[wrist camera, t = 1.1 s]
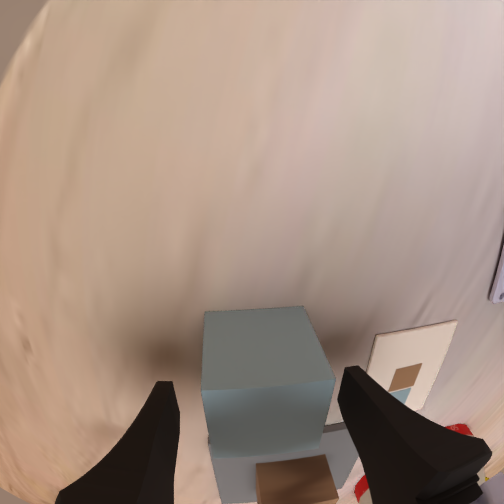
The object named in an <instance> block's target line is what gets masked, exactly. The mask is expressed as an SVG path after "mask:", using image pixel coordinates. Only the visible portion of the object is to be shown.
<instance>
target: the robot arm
mask: <svg viewBox="0 0 504 504" xmlns="http://www.w3.org/2000/svg"><path fill="white" fill-rule="evenodd" d="M490 301H491V302H492V303H493V304H496V303H500V302H504V245H503V249H502V254H501V258H500V262H499V266H498V269H497V273H496V277H495V280H494V284H493V287H492V290H491V294H490ZM337 400H338V403H339V407H340V411H341V414H342V417H343V420H344V423H345V425H346V427H347V429H348V432H349V434H350V436H351V439H352V441H353V443H354V445H355V448H356V450H357V452H358V454H359V457H360V459H361V462H362V465H363V468H364V472H365V475H366V479H367V483H368V486H369V490H370V495H371V499H372V504H504V474H503V473H502V472H499V473H498V474H496V475H495V476H493V477H492V478H490V479H488V480H487V481H485V482H484V483H483V484H481V485H480V486H479V485H478V483H477V482H478V481H479V479H480V478H479V476H478V475H477V473H478V472H479V471H480V470H481V469H482V468H483V467H484V466H485V464H486V463H487V462H488V461H489V460H490V458H491V456H492V451H491V450H490V448H489V447H488V445H487V444H486V443H485V441H484V440H483V439H480V438H476V437H472V436H468V435H465V434H461V433H459V432H456V431H453V430H450V429H448V428H445V427H443V426H441V425H439V424H437V423H434V422H432V421H430V420H429V419H427V418H425V417H423V416H421V415H420V414H418V413H416V412H415V411H413V410H412V409H410V408H409V407H407V406H406V405H404V404H403V403H402V402H400V401H399V400H398V399H396V398H395V397H394V396H392V395H391V394H390V393H389V392H388V391H386V390H385V389H384V388H383V387H382V386H380V385H379V384H378V383H377V382H376V381H375V380H374V379H373V378H371V377H370V376H369V375H368V374H367V373H366V372H365V371H364V370H363V369H361V368H360V367H359V366H358V365H357V366H351V367H345V369H344V374H343V378H342V382H341V386H340V390H339V394H338V398H337ZM179 434H180V411H179V407H178V403H177V399H176V395H175V391H174V387H173V382H172V381H158V382H156V384H155V386H154V388H153V390H152V391H151V393H150V395H149V397H148V399H147V401H146V402H145V404H144V406H143V407H142V409H141V411H140V412H139V414H138V415H137V417H136V419H135V420H134V422H133V423H132V424H131V426H130V427H129V428H128V430H127V431H126V433H125V434H124V435H123V437H122V438H121V439H120V440H119V442H118V443H117V444H116V445H115V446H114V447H113V448H112V450H111V451H110V452H109V453H108V454H107V455H106V456H105V457H104V458H103V459H102V460H101V461H100V462H99V463H98V464H97V465H95V466H94V467H93V468H92V469H91V470H89V471H88V472H87V473H86V474H84V475H83V476H82V477H81V478H79V479H78V480H76V481H75V482H73V483H72V484H70V485H69V486H67V487H66V488H64V489H63V490H61V491H59V494H58V496H57V498H56V501H55V504H174V474H175V466H176V458H177V450H178V442H179Z"/></svg>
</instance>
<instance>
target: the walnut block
mask: <svg viewBox="0 0 504 504" xmlns="http://www.w3.org/2000/svg"><path fill="white" fill-rule="evenodd" d="M256 496H257V503H258V504H336V502H337V501H338V499H339V496H338V493H337V490H336V487H335V484H334V480H333V477H332V474H331V471H330V468H329V464H328V461H327V458H326V455H325V454H323V455H318V456H312V457H306V458H299V459H292V460H284V461H276V462H267V463H256Z"/></svg>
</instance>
